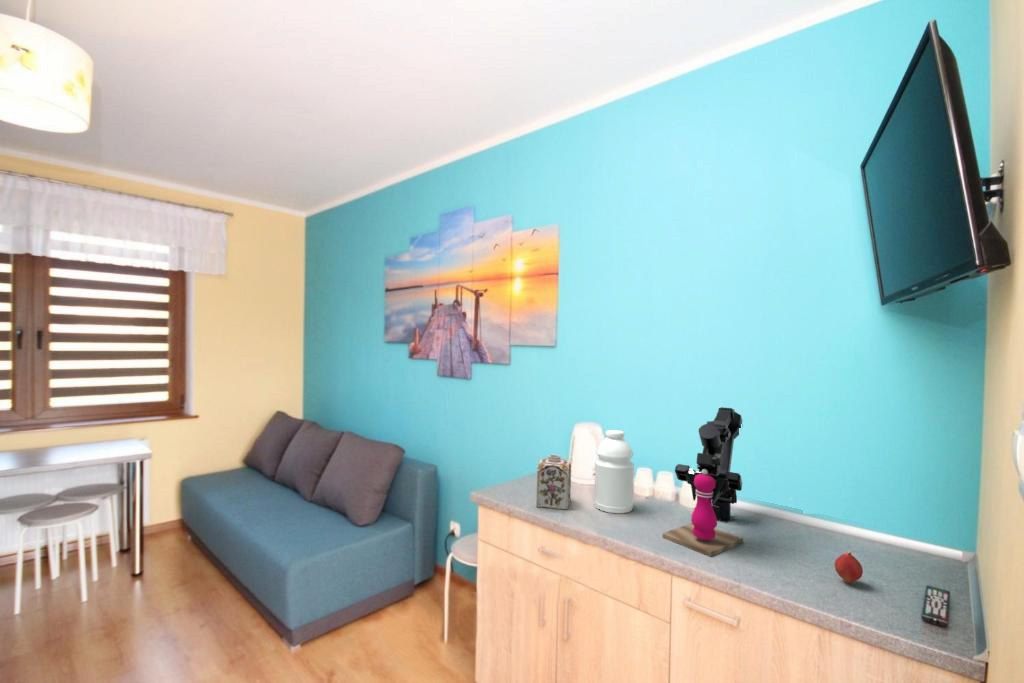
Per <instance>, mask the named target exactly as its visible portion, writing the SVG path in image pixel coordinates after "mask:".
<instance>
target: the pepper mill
mask: <svg viewBox="0 0 1024 683" xmlns="http://www.w3.org/2000/svg"><path fill="white" fill-rule="evenodd" d="M694 485H695V487H696V488H697V489H696V493H695V494H696V505H695V507H694V509H693V511H692V513H691V518H690V521H691V523H692V524H693V525H694V526H695V527H693V535H694V536H696V537H698V538H700V539H706V540H711V539H714V538H715V530H714V528H715V529H716V528H717V525H718V520H717V518H716V515H715V513H714V510H713V508H712V497H713V491H712V490H713V489H714V488H715V480H714V478H713V477H712V476H710V475H708V471H707V470H706V469H703V470H702V474H699V475H697V476H696V477H695V478H694Z"/></svg>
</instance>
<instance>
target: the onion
mask: <svg viewBox="0 0 1024 683" xmlns="http://www.w3.org/2000/svg"><path fill="white" fill-rule="evenodd" d="M834 569H835V572H836V573H837V574H838V576H839V577H840V578H842V580H844V582H845V583H847V584H852V583H854V582H856V581H858V580H860V579H861V578H862V576H863V573H864V569H863V565H862V564H861V563H860V561H859V560H858V559H857V558H856V557H855V556H853V554H852V551H847V552H845V553H843V554H841V555H839V556H838V557H837V558H836V559H835V561H834Z"/></svg>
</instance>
